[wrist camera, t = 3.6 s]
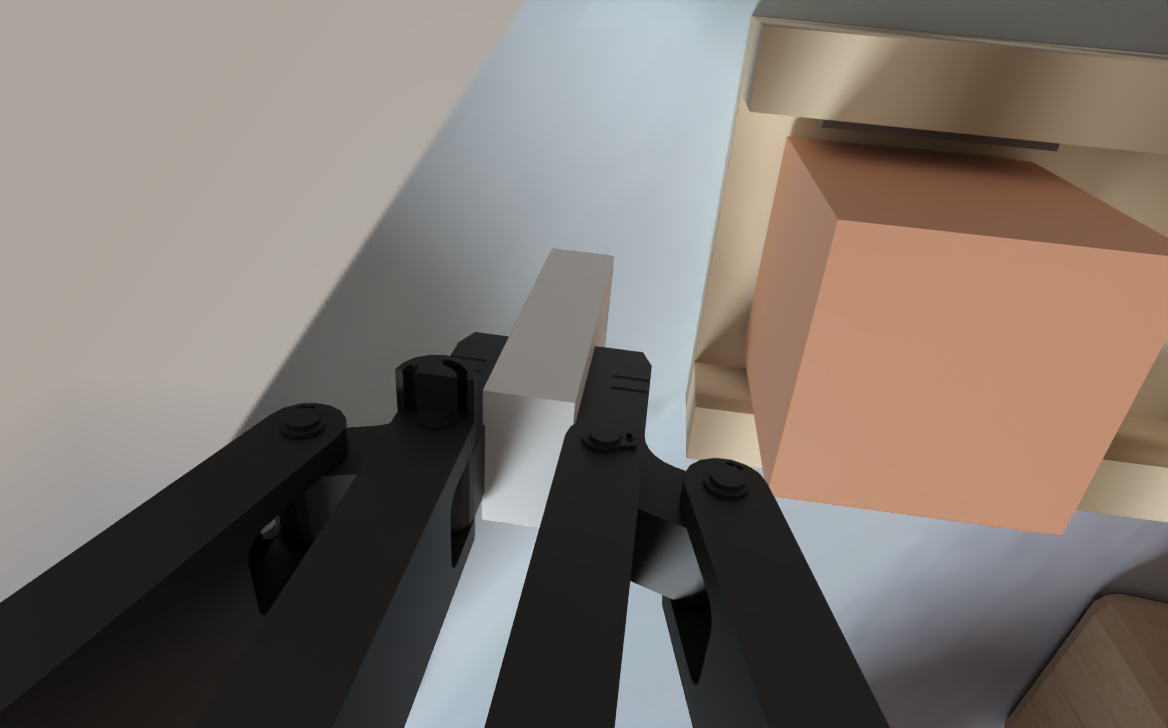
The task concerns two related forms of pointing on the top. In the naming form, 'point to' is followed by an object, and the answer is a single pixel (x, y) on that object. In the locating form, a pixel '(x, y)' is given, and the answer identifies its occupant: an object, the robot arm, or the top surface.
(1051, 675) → the wooden block
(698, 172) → the top surface
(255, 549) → the robot arm
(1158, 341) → the terracotta block
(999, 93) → the wooden tray
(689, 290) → the top surface
